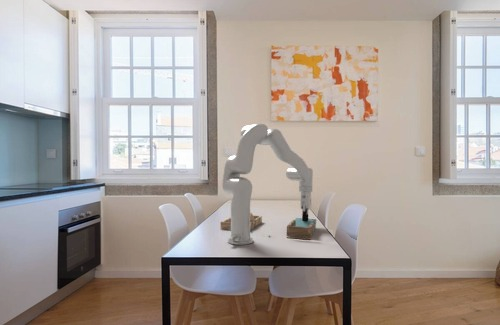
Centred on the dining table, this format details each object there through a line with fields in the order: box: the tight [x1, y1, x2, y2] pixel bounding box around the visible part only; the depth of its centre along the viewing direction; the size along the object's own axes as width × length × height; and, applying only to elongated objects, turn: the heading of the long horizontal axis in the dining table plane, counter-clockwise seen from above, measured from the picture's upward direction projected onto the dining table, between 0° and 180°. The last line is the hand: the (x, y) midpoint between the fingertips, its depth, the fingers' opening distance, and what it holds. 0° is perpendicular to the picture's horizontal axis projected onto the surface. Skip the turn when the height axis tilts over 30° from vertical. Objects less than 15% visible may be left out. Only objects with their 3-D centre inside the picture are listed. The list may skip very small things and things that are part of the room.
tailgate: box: [294, 217, 317, 229], centre depth 174 cm, size 1×12×8 cm
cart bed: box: [286, 219, 316, 241], centre depth 162 cm, size 18×12×6 cm
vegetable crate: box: [220, 215, 263, 231], centre depth 185 cm, size 26×17×4 cm, turn 161°
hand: (305, 220), depth 174 cm, fingers closed
